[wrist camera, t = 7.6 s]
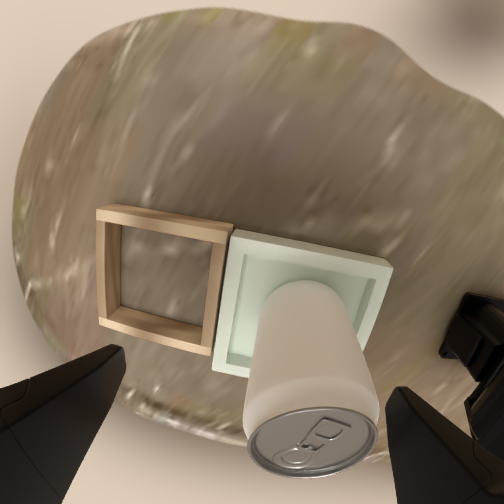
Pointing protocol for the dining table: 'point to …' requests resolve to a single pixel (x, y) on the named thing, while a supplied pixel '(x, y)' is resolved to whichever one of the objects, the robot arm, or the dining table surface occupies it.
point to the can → (308, 386)
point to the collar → (143, 322)
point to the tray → (280, 273)
